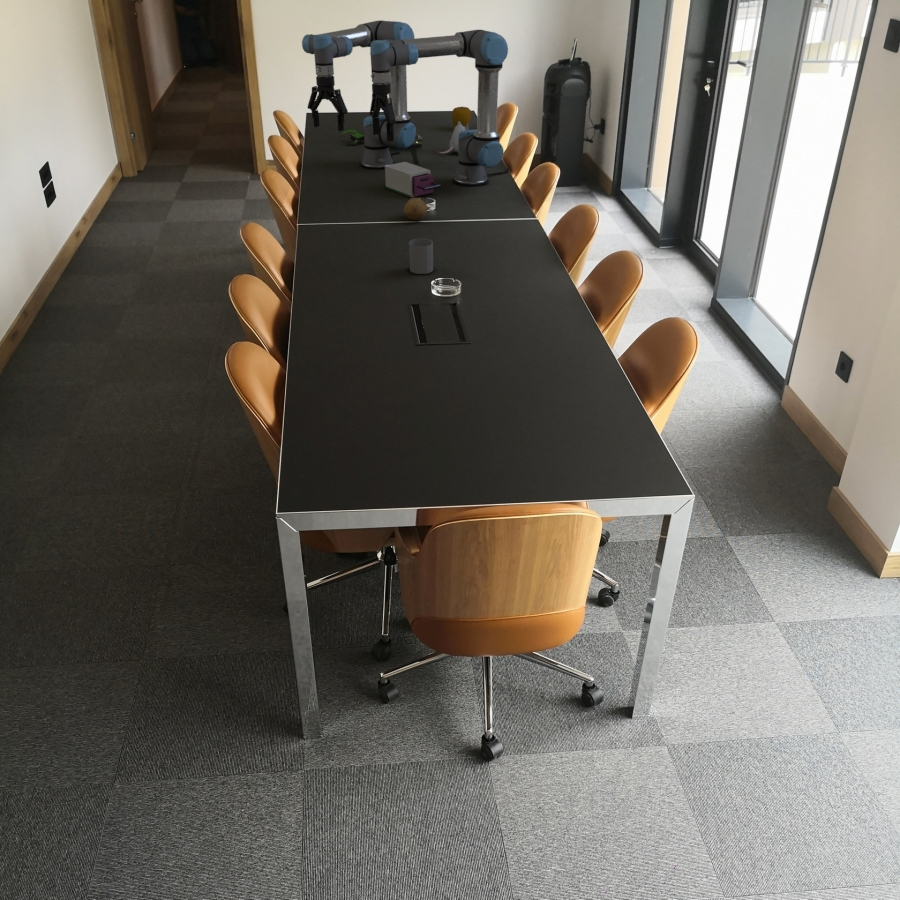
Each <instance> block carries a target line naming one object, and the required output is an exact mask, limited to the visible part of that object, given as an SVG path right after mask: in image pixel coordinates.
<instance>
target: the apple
mask: <svg viewBox="0 0 900 900" xmlns="http://www.w3.org/2000/svg"><path fill="white" fill-rule="evenodd" d="M451 121H452V125H453V129H455V127H456V126H457V124H458V121H459V122H460V123H461V124H462V126H463V127H466V128H467V124H468V127H469V126H470V124H471V121H472V111H471V108H469V107H467V106H462V105H461V106H457V107H454V108H452V111H451Z"/></svg>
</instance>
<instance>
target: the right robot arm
mask: <svg viewBox="0 0 900 900" xmlns="http://www.w3.org/2000/svg"><path fill="white" fill-rule="evenodd" d="M508 46H509V45H508V42H507V40H506V39H505V38H504V36H502V35H501V34H499V33H497V32H495V31H489V30H485V29H473V30H466V31H457V32H455V33H454V34H451V35H442V36H430V37H417V38H416V37H415V39H405V40H393V41H392V40H376V41H372V42H371V46H370V47H369V52H370V53H369V55H370V68H371V69H370V71H371V75H370V78H371V82H372V84H371V102H370V103H371V104H370V108H369V116H372V119H373V135H377V134H380V127H379V118H377V117H379V115H380V112H381V110H382V112H383V115H385V118H386V121H387V124H386V127H387V141H388V142H389V141H394V132H393V124H396V120H395V115H394V111H393V106H392V99H391V98H389V94H390V93H391V84H390V83H389V82H390V81H391V79H390V66H400V65H406V66H410V65H411V66H412V65H416V64H417V63H418V61H419V59H424V58H435V57H446V56H448V57H449V56H456V57H457V58H469V59H474V68H475V69H476V71H477V73H478V74H477V75H478V78H477V113H476V114H477V115H476V129H469V130H464V131H461V132H460V133H459V139H458V141H459V154H458V166H457V167H456V168H457V169H456V171H455V175H454V184H457V185H460V186H465V187H478V186H482V185H483V186H484V185H485V184H487V183H488V176H494V175H502V174H506V173H507V172H508V171H509V170H510V169H509V168H510V167H507V168H506V170H504V171H500V172H492V173H487V171H486V168H488V169H489V168H490V169H491V168H494V167H496V166H498V164H499V163H500V162H501V161H502V159H503V158H504V147H503V146H502V144H501V142H500V137H501V135H500V134H501V133H499V132H498V131H497V125H498V122H497V121H498V100H499V99H498V98H499V75H500V74H499V72H500V71H502V69H503V63H504V62H505V60H506V59H507V57H508V54H509V47H508Z"/></svg>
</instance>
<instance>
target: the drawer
mask: <svg viewBox="0 0 900 900" xmlns="http://www.w3.org/2000/svg"><path fill="white" fill-rule="evenodd" d="M434 182H435V181H434V174H433V173H431V174H422V175H418V176H413V177H412V187H413V194H414V196H416V197H419V196H424V195H428V193H429V194H433V193H434V192H435V191H434V189H438V188H441V184H439V183H434Z"/></svg>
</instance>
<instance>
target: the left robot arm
mask: <svg viewBox="0 0 900 900" xmlns="http://www.w3.org/2000/svg"><path fill="white" fill-rule="evenodd" d="M405 39H416V37H415V33H414V30H413V28H412V27H411V25H410V24H409V23H407V22H402V21H396V20H395V21H394V20H383V19H382V20H373V21H369V22H364V23H359V24H358V25H357V26H355V27H352V28H346V29H341V30H336V31H335V30H334V31H331V32H324V33H319V34H313V33H311V34H309V33H308V34H305V35H304V36H303V37H302V40H301V47H302V50H303V51H304V52H305V53H306V54H309V55H314V68H315V75H316V77H315V82H316V85H315V86H312V87H311V93H310V97H309V100H308V103H307V109H308V110H310V111H311V119H312V120H313V128H318V127H320V116H319V114H320V113H319V109H318V108H319V106H320V104H321V102H322V101H323V100H326V101H329V102H331V104H332V105H333V107H334V109H335V110H336V112H337V115H336V118H337V130H338V132H344V130H345V127H344V125H345V124H344V123H345V115H346V114H348V113H349V110H348V108H347V106H346V103H345V101H344V99H343V96H342V91H341V89H340V88H338V89H337V88H336V89H335V83H336V82H335V76H334V74H335V67H334V59H337V58H346V57H347V56H349V55H351V54H352V52H353V49H354V48H357V47H360V48H364V49H365V48H370V46H371V42H372V41H376V40H392V41H393V40H405ZM407 73H408V72H407V65H400V66H390V79H391V81H390V82H389V83H390V84H391V93H390V94H388V98H391V99H392V106H393V111H394V115H395V120H396V124H393V132H394V141H389V142H388V141H387V127H386V124H387V121H386V118H385V115H384V114H379V117H377V118H379V127H380V134H377V135H373V119H372V115H369V116H366V117H365V118H364V119H363V134H364V141H363V142H364V151H363V155H362V159H361V166H362V167H363V168H366V169H371V170H381V169H385V166H387V165H392V164H394V161H393V158H392V156H393V155H398V154H400V151H394V152H390V151H391V150H390V147H394V148H398V149H407V148H409V147H411V146H412V145H413V144H414V142H415V139H416V136H417V127H416V126H415V124H414V123H413V122H412V121H411V118H412V117H411V116H410V115H409V114H408V79H407V78H408V77H407Z"/></svg>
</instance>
